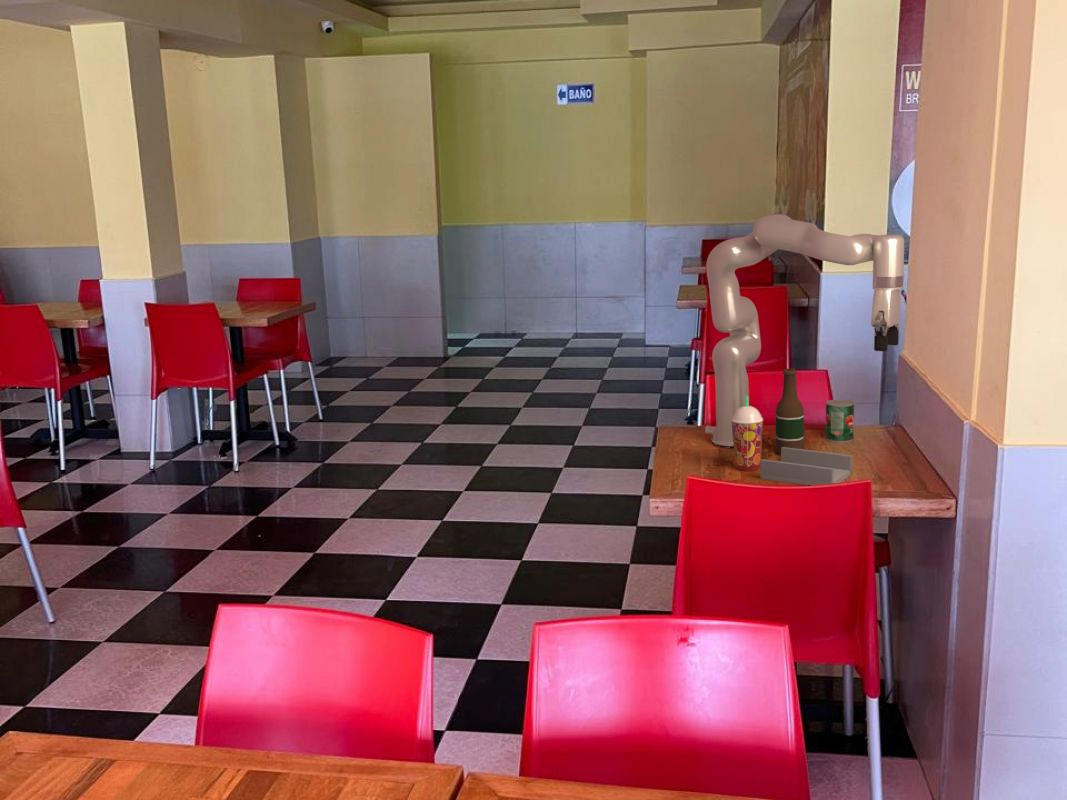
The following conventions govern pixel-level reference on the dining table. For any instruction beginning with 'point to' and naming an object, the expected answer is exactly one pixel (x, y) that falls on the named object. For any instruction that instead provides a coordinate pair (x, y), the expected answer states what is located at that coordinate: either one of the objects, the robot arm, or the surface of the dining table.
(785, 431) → the beer bottle
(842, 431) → the canned tomato
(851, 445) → the dining table surface
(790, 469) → the cradle
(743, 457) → the smoothie
